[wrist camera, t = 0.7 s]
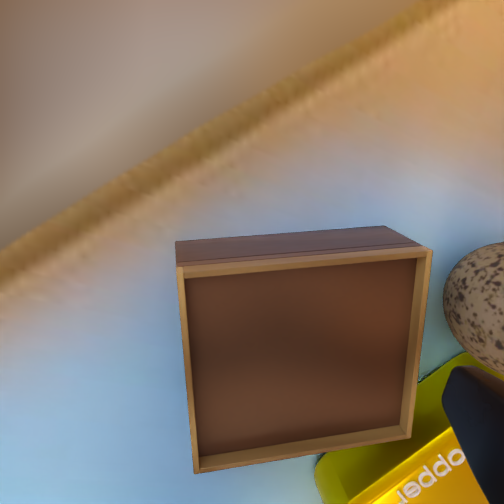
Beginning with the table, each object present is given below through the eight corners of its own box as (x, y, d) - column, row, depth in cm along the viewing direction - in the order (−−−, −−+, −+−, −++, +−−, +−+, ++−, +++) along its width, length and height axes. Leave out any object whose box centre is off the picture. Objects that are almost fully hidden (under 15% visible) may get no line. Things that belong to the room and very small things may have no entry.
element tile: (477, 335, 28) (535, 377, 24) (552, 458, 33) (612, 512, 29) (300, 467, 29) (324, 532, 24) (401, 567, 34) (436, 636, 30)
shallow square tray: (372, 386, 28) (411, 438, 23) (189, 412, 26) (194, 474, 21) (384, 225, 24) (433, 250, 20) (175, 241, 22) (176, 273, 18)
